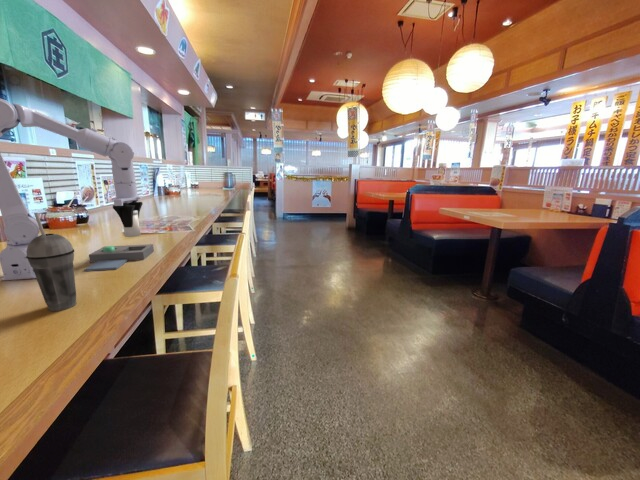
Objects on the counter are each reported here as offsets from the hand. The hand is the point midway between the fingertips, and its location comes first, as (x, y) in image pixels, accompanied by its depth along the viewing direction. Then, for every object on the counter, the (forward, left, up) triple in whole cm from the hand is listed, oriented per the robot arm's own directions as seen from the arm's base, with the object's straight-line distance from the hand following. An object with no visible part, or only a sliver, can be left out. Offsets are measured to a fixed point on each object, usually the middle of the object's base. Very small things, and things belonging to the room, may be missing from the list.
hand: (131, 225), depth 95 cm
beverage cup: (-37, +1, -10) cm, 38 cm away
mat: (-9, +4, -10) cm, 15 cm away
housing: (0, +3, -10) cm, 11 cm away
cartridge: (0, 0, -3) cm, 3 cm away
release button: (0, +8, -10) cm, 12 cm away
